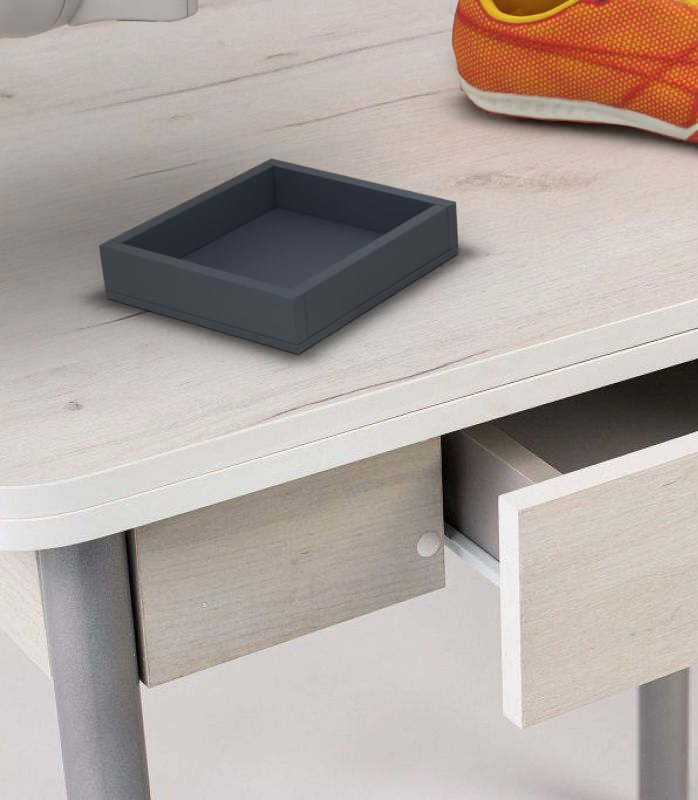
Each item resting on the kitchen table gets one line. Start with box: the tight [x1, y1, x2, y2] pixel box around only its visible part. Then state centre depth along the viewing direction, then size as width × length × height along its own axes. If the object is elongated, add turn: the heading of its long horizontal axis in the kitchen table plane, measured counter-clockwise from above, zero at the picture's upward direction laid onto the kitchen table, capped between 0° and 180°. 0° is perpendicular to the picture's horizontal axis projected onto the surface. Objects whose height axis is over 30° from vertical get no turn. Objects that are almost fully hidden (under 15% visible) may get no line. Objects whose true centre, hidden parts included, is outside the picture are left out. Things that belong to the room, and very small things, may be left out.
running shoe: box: [451, 0, 698, 145], centre depth 118 cm, size 10×28×11 cm, turn 78°
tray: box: [98, 157, 460, 355], centre depth 100 cm, size 14×13×3 cm
